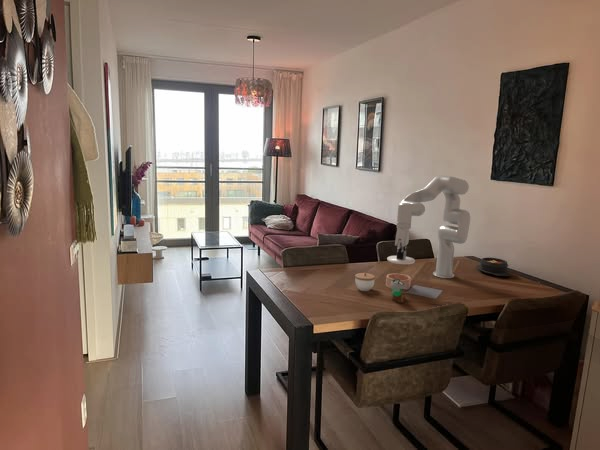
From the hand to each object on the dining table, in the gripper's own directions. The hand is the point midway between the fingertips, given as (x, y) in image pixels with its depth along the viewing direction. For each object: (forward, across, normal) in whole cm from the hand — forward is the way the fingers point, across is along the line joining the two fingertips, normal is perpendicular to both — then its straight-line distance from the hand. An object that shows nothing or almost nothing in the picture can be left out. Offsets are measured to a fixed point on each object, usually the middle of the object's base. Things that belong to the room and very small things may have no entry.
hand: (401, 257), depth 241 cm
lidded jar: (+18, +15, -15) cm, 27 cm away
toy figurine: (+18, +21, +5) cm, 28 cm away
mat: (+17, 0, +14) cm, 23 cm away
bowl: (+17, 0, -1) cm, 17 cm away
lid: (+2, 0, 0) cm, 2 cm away
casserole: (+18, -67, +41) cm, 80 cm away
